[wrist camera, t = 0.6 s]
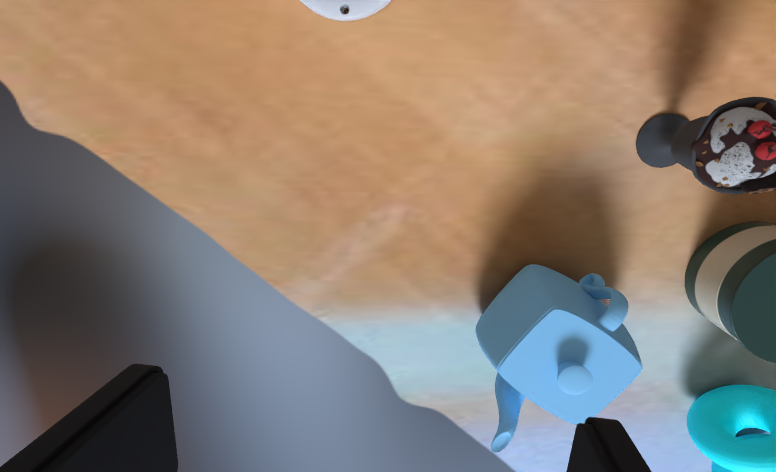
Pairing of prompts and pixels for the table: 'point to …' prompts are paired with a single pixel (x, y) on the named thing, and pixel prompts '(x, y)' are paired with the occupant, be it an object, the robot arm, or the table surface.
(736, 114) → the sundae
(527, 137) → the table surface
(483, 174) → the table surface
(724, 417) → the donuts
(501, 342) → the teapot
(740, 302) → the tin
